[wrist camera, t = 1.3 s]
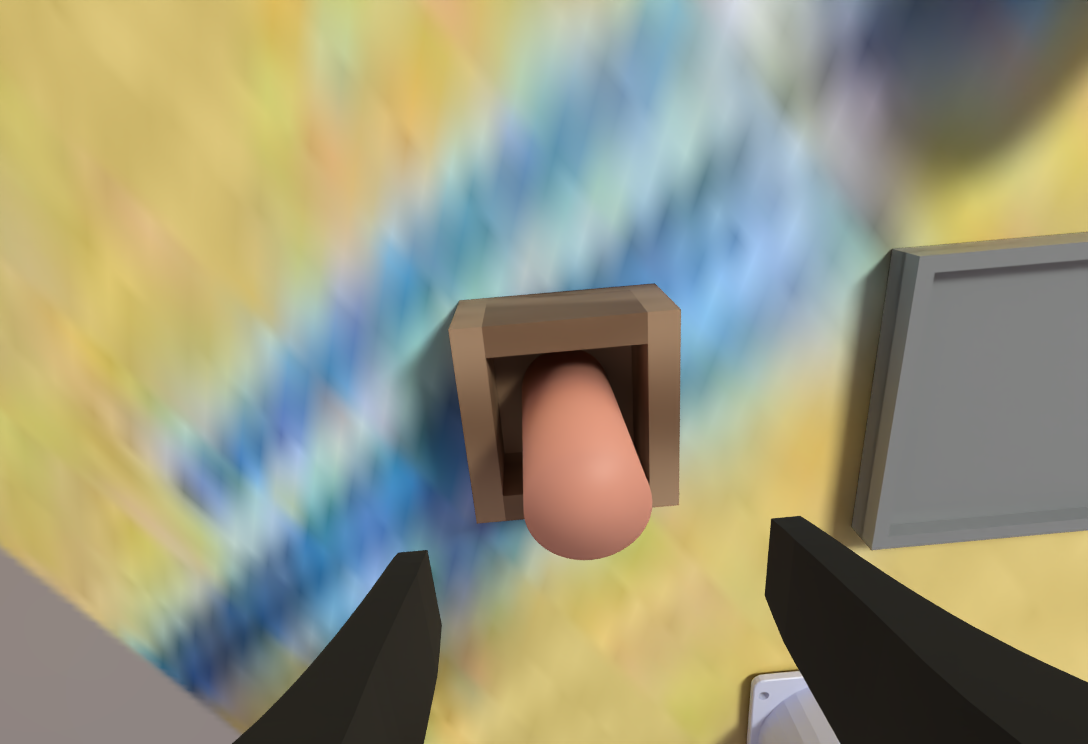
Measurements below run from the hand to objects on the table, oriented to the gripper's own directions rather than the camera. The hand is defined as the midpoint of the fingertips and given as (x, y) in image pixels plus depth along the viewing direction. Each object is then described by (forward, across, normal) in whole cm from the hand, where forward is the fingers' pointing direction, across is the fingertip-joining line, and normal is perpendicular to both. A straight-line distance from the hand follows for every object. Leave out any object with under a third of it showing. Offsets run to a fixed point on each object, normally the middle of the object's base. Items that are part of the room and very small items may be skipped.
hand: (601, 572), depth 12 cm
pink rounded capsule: (+10, 0, 0) cm, 10 cm away
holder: (+10, 0, 0) cm, 10 cm away
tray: (+10, -18, +2) cm, 21 cm away
